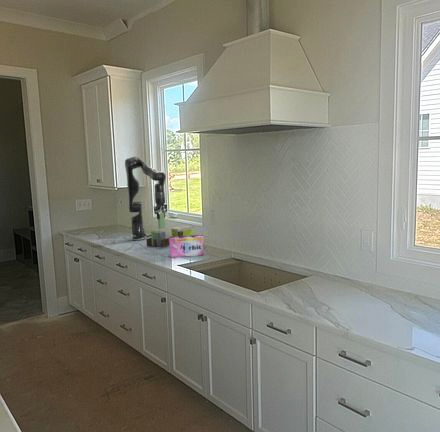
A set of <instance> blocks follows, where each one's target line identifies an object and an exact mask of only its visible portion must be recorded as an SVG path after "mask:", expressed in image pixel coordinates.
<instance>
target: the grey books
mask: <svg viewBox="0 0 440 432" xmlns="http://www.w3.org/2000/svg"><path fill="white" fill-rule="evenodd" d="M166 238H167V237H166V231H163V230H160V232H157V233H156V243H157V247H156V248H162V240H163V239H166Z"/></svg>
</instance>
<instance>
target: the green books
mask: <svg viewBox="0 0 440 432" xmlns="http://www.w3.org/2000/svg"><path fill="white" fill-rule="evenodd" d="M157 232H161V229H154V230H151V231H150V235H151V236H150V238H152V246H154V239H156V233H157Z"/></svg>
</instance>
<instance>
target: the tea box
mask: <svg viewBox="0 0 440 432" xmlns="http://www.w3.org/2000/svg"><path fill="white" fill-rule="evenodd" d="M170 231H171V237H176V236H192V235H195V227H194V226H190V225H183V226H177V227H172V228H171V229H170Z"/></svg>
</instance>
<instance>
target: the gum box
mask: <svg viewBox="0 0 440 432" xmlns="http://www.w3.org/2000/svg"><path fill="white" fill-rule="evenodd" d="M168 238H169V257H170V258H180V257H182V258H183V257H197V256H203V255H204V254H203V253H204V252H203V248H204V243H203V242H204V240H205V238H204V236H203V234H194V235H192V236H176V237H172V236H169V237H168Z"/></svg>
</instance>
